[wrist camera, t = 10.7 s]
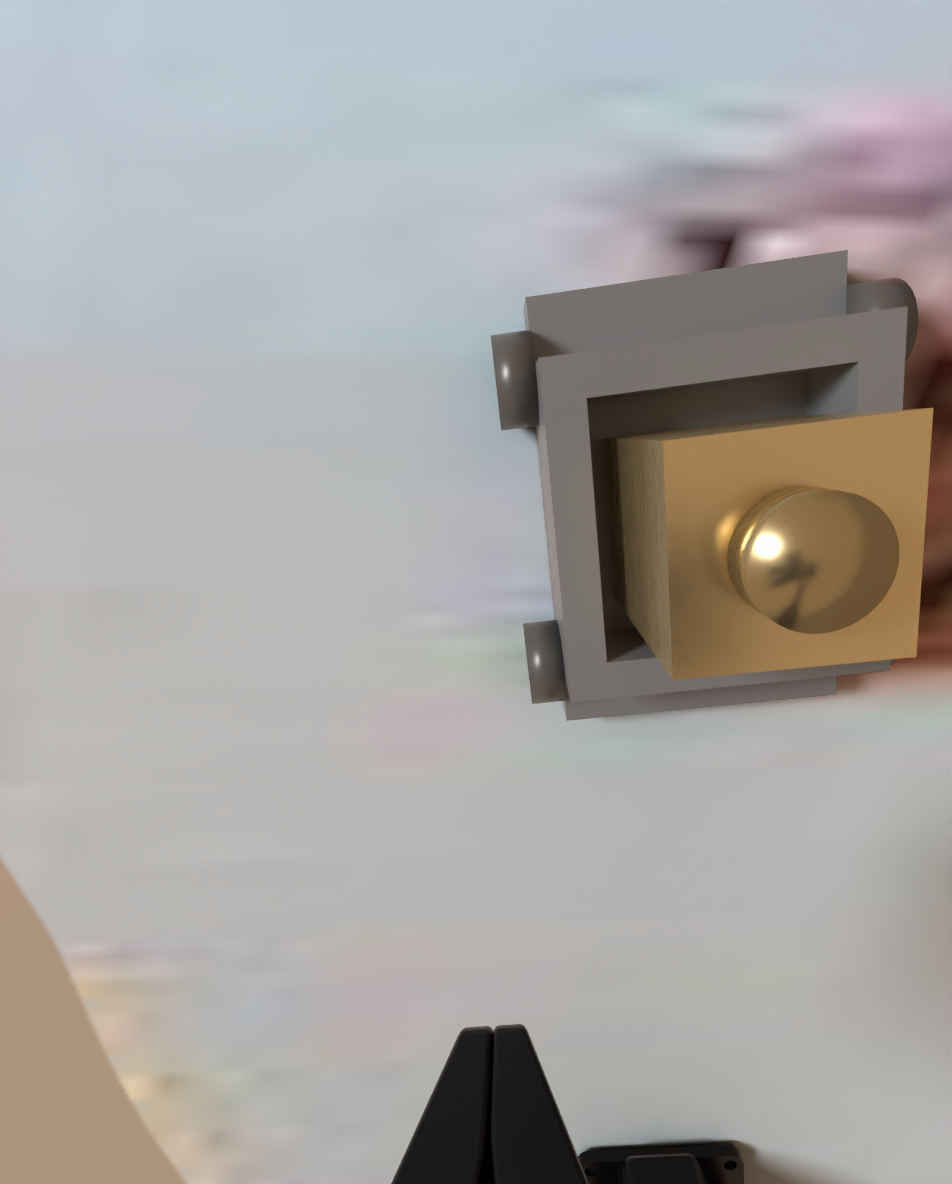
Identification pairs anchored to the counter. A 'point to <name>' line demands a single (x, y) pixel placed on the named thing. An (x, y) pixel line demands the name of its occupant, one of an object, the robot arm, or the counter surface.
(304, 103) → the counter surface
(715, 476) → the brass knobbed block
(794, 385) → the chassis
